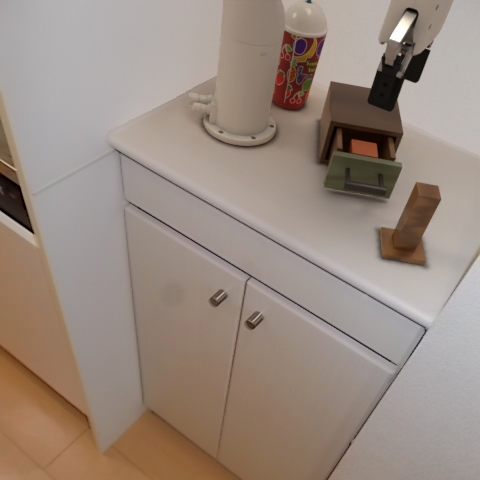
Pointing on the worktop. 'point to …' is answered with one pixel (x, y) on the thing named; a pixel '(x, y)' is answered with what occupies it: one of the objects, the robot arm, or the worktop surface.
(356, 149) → the block
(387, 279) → the worktop surface
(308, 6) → the smoothie
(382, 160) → the drawer
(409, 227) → the stand
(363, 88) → the cabinet
